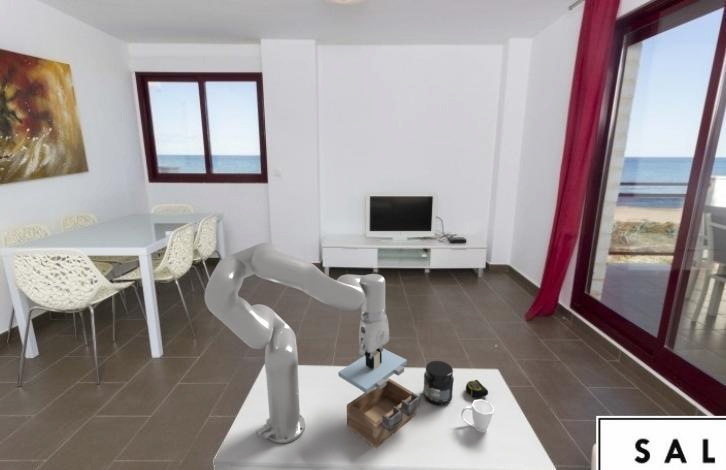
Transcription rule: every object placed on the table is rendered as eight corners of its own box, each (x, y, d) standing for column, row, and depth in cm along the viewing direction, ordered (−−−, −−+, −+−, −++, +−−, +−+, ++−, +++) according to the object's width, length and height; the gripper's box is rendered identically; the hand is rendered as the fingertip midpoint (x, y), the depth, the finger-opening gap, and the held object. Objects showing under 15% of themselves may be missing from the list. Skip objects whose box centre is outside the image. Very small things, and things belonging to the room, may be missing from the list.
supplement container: (443, 385, 137) (445, 357, 134) (457, 404, 128) (460, 374, 125) (418, 390, 135) (419, 361, 132) (430, 409, 125) (432, 379, 122)
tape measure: (488, 398, 131) (489, 389, 130) (472, 402, 129) (473, 393, 128) (477, 386, 137) (478, 378, 136) (461, 390, 135) (462, 381, 134)
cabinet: (383, 455, 106) (384, 425, 104) (346, 425, 118) (346, 398, 115) (423, 420, 120) (425, 393, 118) (387, 396, 131) (387, 371, 129)
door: (371, 396, 106) (370, 377, 104) (338, 376, 115) (337, 358, 114) (411, 366, 120) (411, 348, 118) (379, 350, 129) (379, 334, 128)
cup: (493, 437, 113) (496, 415, 111) (461, 432, 115) (463, 411, 113) (490, 421, 120) (492, 400, 118) (459, 416, 122) (461, 396, 120)
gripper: (364, 326, 105) (365, 381, 109) (398, 308, 116) (398, 358, 121) (346, 318, 110) (347, 371, 114) (381, 301, 121) (381, 349, 126)
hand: (373, 363), depth 118 cm, fingers closed on door, 3 cm apart
